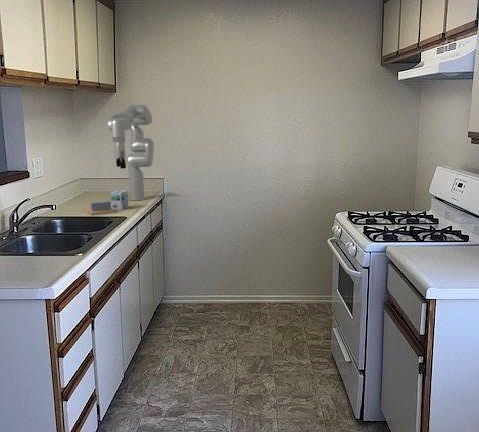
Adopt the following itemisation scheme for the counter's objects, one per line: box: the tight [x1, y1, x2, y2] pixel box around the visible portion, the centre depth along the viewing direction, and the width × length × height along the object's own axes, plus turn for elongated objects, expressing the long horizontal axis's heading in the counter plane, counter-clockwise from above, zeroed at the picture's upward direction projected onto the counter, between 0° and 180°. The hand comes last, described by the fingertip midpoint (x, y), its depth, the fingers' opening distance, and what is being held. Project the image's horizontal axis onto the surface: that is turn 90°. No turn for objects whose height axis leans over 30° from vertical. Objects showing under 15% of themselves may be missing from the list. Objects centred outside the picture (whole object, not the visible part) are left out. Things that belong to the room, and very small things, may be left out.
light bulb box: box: [110, 189, 129, 211], centre depth 344 cm, size 11×7×11 cm, turn 168°
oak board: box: [82, 206, 116, 216], centre depth 337 cm, size 22×14×2 cm, turn 27°
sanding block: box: [89, 200, 112, 212], centre depth 331 cm, size 6×11×5 cm, turn 114°
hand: (121, 167), depth 344 cm, fingers open, 9 cm apart
